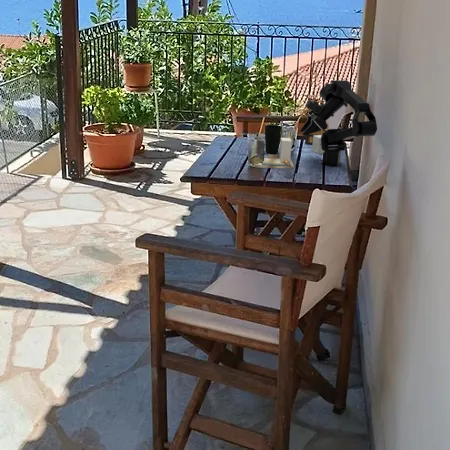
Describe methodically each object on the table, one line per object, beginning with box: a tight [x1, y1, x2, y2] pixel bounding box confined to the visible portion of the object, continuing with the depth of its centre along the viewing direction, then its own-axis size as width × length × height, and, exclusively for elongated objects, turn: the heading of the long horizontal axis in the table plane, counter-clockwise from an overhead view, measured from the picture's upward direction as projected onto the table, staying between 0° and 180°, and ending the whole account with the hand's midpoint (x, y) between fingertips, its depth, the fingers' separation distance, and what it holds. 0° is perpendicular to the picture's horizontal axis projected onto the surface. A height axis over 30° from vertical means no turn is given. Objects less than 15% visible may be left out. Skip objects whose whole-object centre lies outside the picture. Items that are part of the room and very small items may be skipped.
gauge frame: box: [253, 136, 295, 170], centre depth 266 cm, size 16×12×10 cm
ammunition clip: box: [304, 120, 329, 146], centre depth 303 cm, size 11×2×12 cm, turn 68°
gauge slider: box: [278, 137, 293, 164], centre depth 266 cm, size 4×10×9 cm, turn 1°
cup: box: [264, 124, 283, 155], centre depth 284 cm, size 8×8×12 cm
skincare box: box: [311, 135, 325, 155], centre depth 291 cm, size 6×6×7 cm
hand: (301, 133), depth 268 cm, fingers open, 7 cm apart
